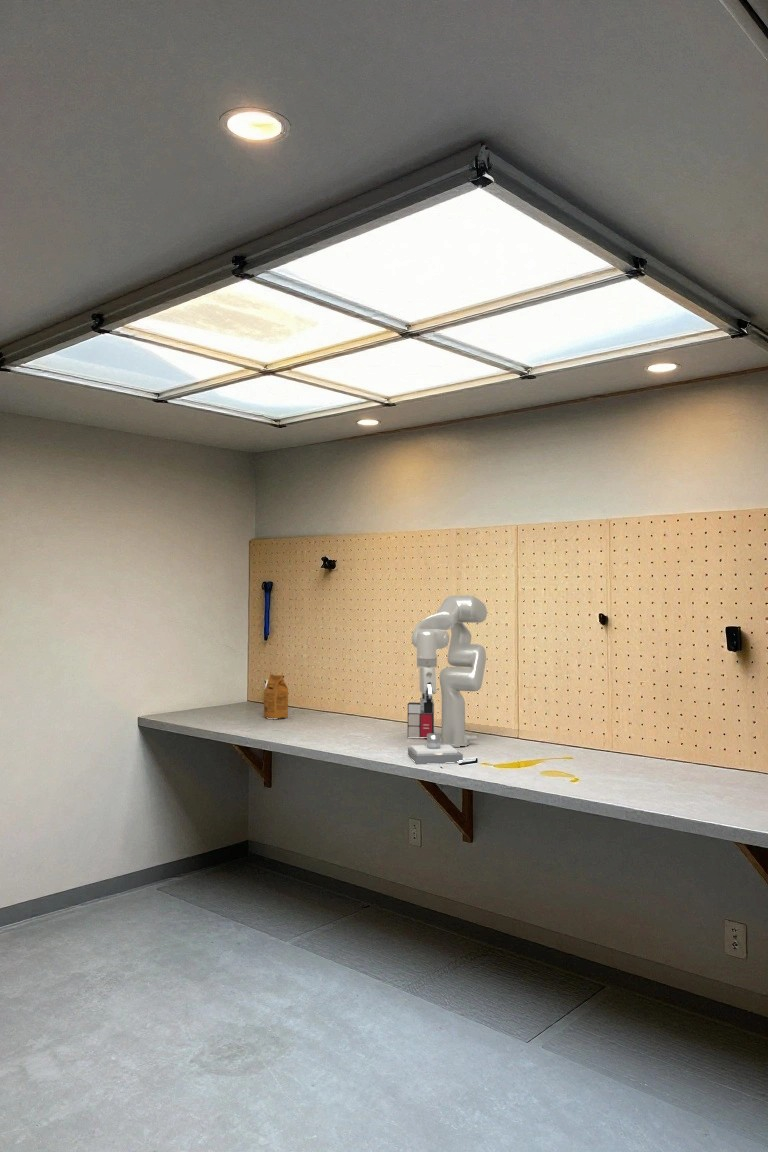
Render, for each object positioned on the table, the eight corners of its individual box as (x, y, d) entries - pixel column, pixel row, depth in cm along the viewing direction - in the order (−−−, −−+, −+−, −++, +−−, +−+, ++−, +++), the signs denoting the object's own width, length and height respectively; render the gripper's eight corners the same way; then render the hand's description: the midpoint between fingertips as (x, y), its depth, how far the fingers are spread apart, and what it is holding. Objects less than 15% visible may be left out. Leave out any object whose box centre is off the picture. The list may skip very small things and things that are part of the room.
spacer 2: (439, 746, 309) (439, 733, 310) (441, 749, 304) (441, 735, 305) (425, 746, 309) (426, 733, 309) (427, 749, 304) (427, 735, 304)
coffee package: (277, 716, 421) (277, 672, 421) (290, 718, 411) (290, 674, 412) (260, 717, 414) (260, 673, 415) (273, 720, 405) (273, 675, 405)
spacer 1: (432, 711, 311) (432, 698, 311) (434, 713, 306) (434, 700, 306) (419, 712, 310) (419, 698, 310) (421, 713, 305) (421, 700, 305)
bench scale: (451, 754, 314) (451, 744, 314) (462, 763, 297) (462, 752, 298) (408, 755, 312) (408, 745, 312) (416, 764, 295) (416, 753, 295)
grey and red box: (407, 738, 350) (407, 703, 351) (408, 737, 355) (408, 702, 355) (432, 739, 348) (432, 704, 349) (434, 738, 353) (434, 702, 353)
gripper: (441, 665, 300) (441, 715, 300) (432, 661, 317) (432, 708, 317) (420, 665, 300) (420, 715, 299) (413, 661, 316) (413, 709, 316)
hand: (427, 711), depth 308 cm, fingers closed on spacer 1, 5 cm apart
